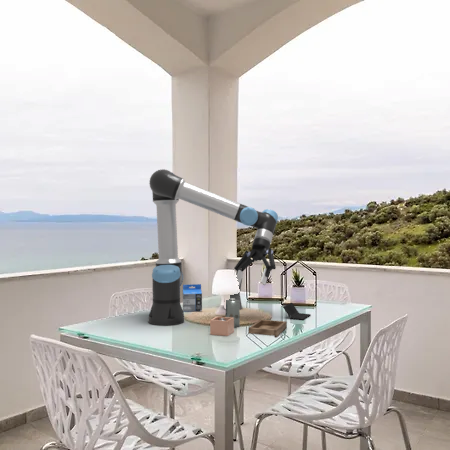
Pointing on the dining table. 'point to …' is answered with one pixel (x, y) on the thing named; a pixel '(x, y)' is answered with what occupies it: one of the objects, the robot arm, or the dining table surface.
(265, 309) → the dining table surface
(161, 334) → the dining table surface
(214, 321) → the terracotta square pot
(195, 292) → the label tape box
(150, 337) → the dining table surface
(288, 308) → the handheld gaming console
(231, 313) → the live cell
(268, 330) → the brown wooden tray
